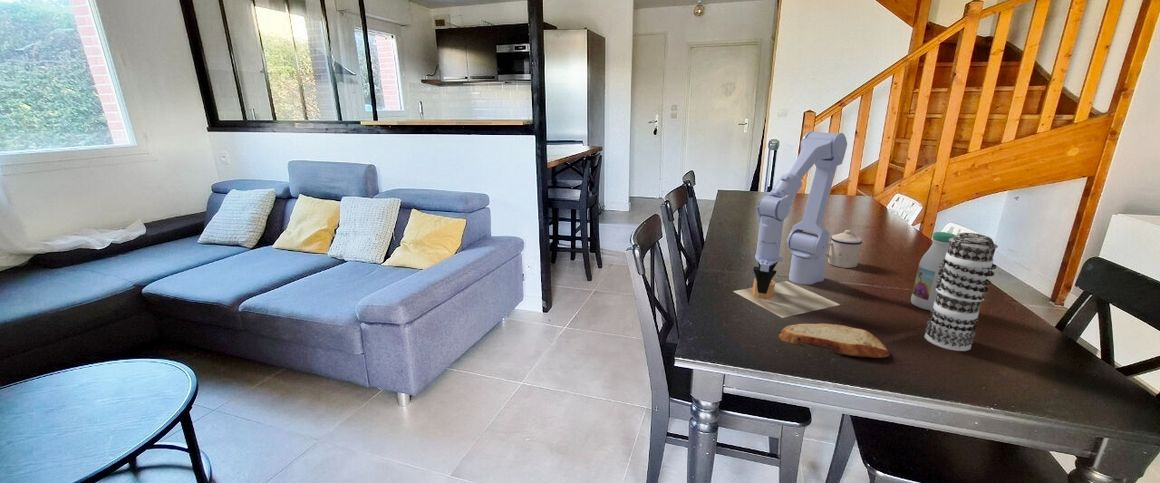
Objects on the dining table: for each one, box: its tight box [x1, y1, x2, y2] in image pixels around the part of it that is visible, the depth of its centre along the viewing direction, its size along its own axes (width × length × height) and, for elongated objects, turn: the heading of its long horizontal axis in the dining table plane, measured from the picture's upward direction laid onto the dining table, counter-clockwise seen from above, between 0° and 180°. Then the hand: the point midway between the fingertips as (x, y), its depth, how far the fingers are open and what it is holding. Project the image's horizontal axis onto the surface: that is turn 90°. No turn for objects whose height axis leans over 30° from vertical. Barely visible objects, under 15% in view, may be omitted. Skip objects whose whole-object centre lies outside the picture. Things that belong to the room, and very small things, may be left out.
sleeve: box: [752, 277, 776, 299], centre depth 126 cm, size 5×5×4 cm
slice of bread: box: [778, 322, 891, 359], centre depth 102 cm, size 18×18×4 cm
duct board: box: [732, 280, 841, 319], centre depth 124 cm, size 20×18×4 cm
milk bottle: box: [910, 231, 956, 311], centre depth 119 cm, size 8×8×20 cm
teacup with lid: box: [823, 229, 863, 269], centre depth 152 cm, size 12×9×12 cm
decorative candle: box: [923, 232, 999, 352], centre depth 100 cm, size 9×9×25 cm
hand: (763, 287), depth 126 cm, fingers open, 7 cm apart
